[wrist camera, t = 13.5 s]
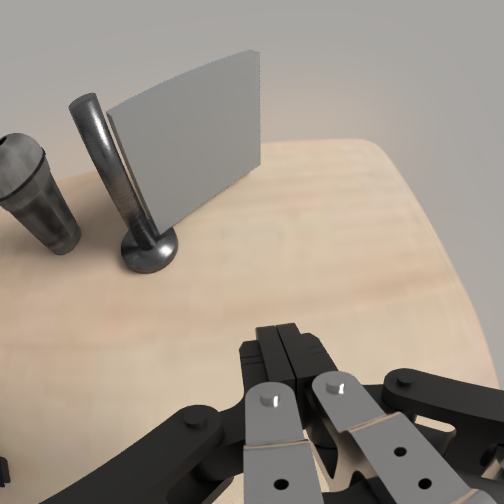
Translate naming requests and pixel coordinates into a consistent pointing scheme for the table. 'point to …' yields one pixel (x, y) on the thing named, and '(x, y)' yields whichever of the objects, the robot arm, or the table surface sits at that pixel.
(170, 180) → the door
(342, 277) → the table surface
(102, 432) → the table surface
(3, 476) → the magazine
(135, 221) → the hinge post
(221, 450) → the robot arm
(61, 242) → the beverage cup
